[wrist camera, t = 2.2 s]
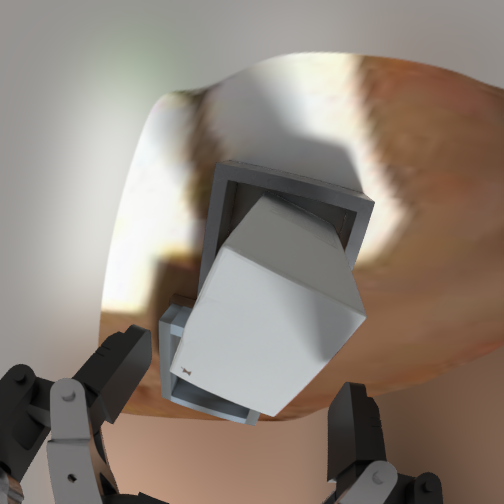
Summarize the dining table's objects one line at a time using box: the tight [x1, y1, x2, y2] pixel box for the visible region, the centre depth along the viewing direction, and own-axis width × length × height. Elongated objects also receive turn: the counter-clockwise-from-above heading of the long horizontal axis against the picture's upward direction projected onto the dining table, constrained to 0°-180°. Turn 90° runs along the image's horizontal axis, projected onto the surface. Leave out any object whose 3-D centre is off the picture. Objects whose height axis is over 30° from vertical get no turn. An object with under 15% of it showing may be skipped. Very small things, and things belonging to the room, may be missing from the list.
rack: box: [159, 294, 261, 426], centre depth 27 cm, size 12×13×4 cm
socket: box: [197, 160, 375, 298], centre depth 21 cm, size 11×12×4 cm
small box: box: [170, 191, 367, 416], centre depth 17 cm, size 8×6×13 cm
